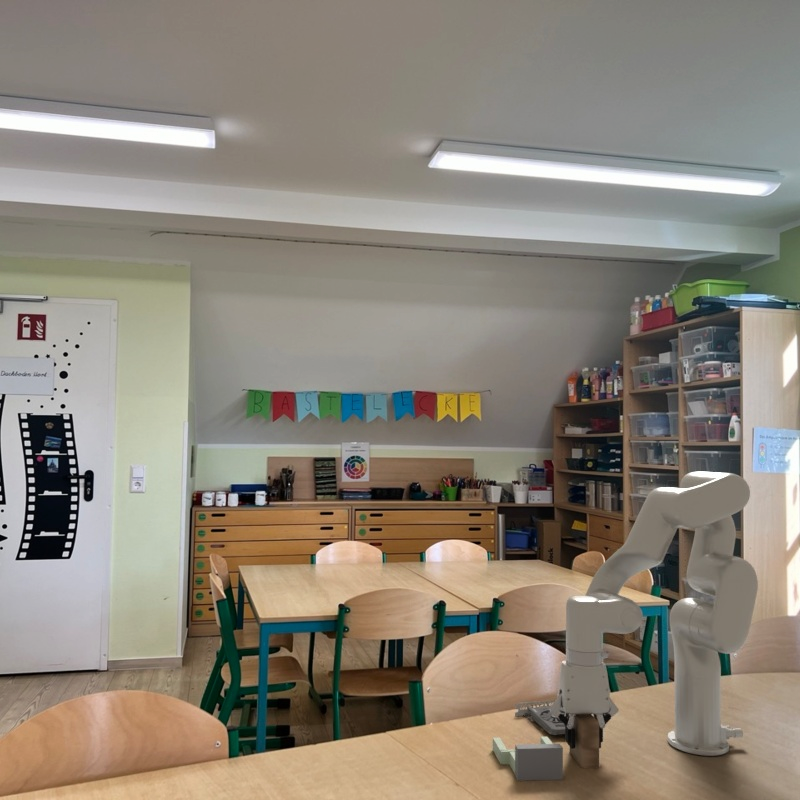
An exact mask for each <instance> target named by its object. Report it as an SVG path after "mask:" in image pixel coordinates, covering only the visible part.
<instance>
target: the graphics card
mask: <svg viewBox="0 0 800 800" xmlns="http://www.w3.org/2000/svg"><path fill="white" fill-rule="evenodd" d="M555 700H556V699H553V700H540V701H539V700H538V701H528V702H518V703H517V704H514V710H517V711H515V712H514V716H515V717H522V716H523V715H524V716H523V717H528V720H530V721H531V722H536V723H537V725H539V726H540V727H541V728H542V729H544V731H546V732H547V734H549V735H550V736H557V735H565V725H564V723H563V722H562V721H561V720H560V719H559V718H557V717H556V716H555V715H553V714H552V713H551V712H550V710H549V709H550V707H551V706H552V704H553V703H554V702H555ZM537 704H538V706H537ZM542 704H543V705H542ZM533 705H534V706H535V707H534V706H533ZM541 705H542V706H541ZM559 711H560V712H561V713H562V714H563V715H565V712H564V710H563V708H562V707H560V709H559Z"/></svg>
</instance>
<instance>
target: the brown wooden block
mask: <svg viewBox="0 0 800 800" xmlns="http://www.w3.org/2000/svg"><path fill="white" fill-rule="evenodd" d="M573 728H574V729H575V748H574V749H571V747H570V746H569V754H571V756H572V757H573V758H574V760H576V762H577V763H578V764H579V766H580V767H581V768H582V769H596V768H598V769H599V768H600V748H599V722H598V721H597V720H596V719H595V718H594V715H593V714H576V716H575V720H574V724H573Z"/></svg>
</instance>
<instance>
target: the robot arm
mask: <svg viewBox="0 0 800 800" xmlns="http://www.w3.org/2000/svg"><path fill="white" fill-rule="evenodd" d="M750 498H751V489H750V486H749V484H748V482H747V481H746V479H744V478H743V477H742V476H740V475H738V474H736V473H732V472H719V471H718V472H717V471H715V472H713V471H692V472H691V471H690V472H689V473H686V474H684V476H683V477H682V478H681V481H680V483H679V487H672V486H671V487H670V486H666V487H665V486H664V487H663V486H662V487H656V488H654V489H652V490H651V491H650V492H649V493H648V494H647V496H646V498H645V500H644V502H643V504H642V506H641V508H640V511H639V513H638V514H637V517H636V519H635V522H634V523H633V525H632V527H631V529H630V532H629V534H628V536H627V539H626V540H625V542H624V544H623V545H622V546H621V547H619V548H618V549H617V550H616V551H615V552H614V553H613V554H612V555H611V556H610V557H608V558H607V560H605V561H604V562H603V563H602V565H600V566H599V568H598V569H597V570H596V572H595V574H594V576H593V578H592V580H591V582H590V584H589V586H588V588H587V590H586V593H585V595H572V596H570V597H569V598H568V599H566V602H565V603H566V604H565V660H562V661H561V664H560V670H559V677H558V684H557V686H558V687H557V697H556V699H554V700H555V701H554V702H553V703H552V706H551V707H550V709H549V710H550V712H551V713H552V714H553V715H555V716H556V717H557V718H559V719H560V720H561V721H562V722H563V723H564V725H565V734H564V739H565V740H564V741H565V743H566V744H567V745H568V746H569V748H570V747H571V749H574V748H575V729H574V728H573V724H574V720H575V716H576V714H591V715H592V716H593V717H594V718H595V719H596V720H597V721H598V722H599V749H601V748H602V743H603V742H604V728H605V727H606V725H607V724H608V722H610V720H611V719H612V718H613V717H614V716H615V715H616V714H617V713H618V712H620V711H619V708H618V706H617V704H615V702H614V701H613V699H612V698H611V696H610V695H611V694H610V683H609V677H608V676H609V675H608V671H607V666H606V664H605V663H604V660H605V659H607V658H609V657H610V652H609V651H608V650H604V649H603V648H604V647H603V646H604V643H603V642H604V641H603V640H604V638H603V637H604V636H603V634H605V633H609V634H611V633H612V634H620V635H627V634H630V633H633V632H636V631H637V630H638V629H639V628H640V627H641V625H642V623H643V618H644V617H643V611H642V609H641V607H640V605H638V603H636V601H634V600H633V599H631V598H628V597H626V596H622V595H620V592H621V590H622V589H623V587H624V585H626V583H627V582H628V581H629V580H630V579H631V578H633V577H635V576H636V575H638V574H640V573H642V572H644V571H647V570H650V569H652V568H655V567H657V566H658V565H660V564H661V563H662V562H663V561H664V559H665V557H666V555H667V552H668V550H669V547H670V545H671V543H672V541H673V539H674V536H675V535H676V533H677V530H678V528H680V529H687V530H695V531H694V537H693V542H692V545H691V550H690V555H689V560H688V564H687V567H686V568H687V569H686V582H687V583H688V585H689V587H690V588H692V589H693V590H694V591H696V592H698V593H701V594H704V595H708V596H709V597H710V596H711V597H714V602H712V601H708V600H705V599H701V598H696V597H684V598H681V599H679V600H678V601H677V602H675V603H674V604H673V606H672V607H671V609H670V612H669V628H670V633H671V637H672V638H671V639H672V643H673V653H674V654H673V656H674V657H673V659H674V671H673V674H674V679H673V680H674V681H673V682H674V729H673V730H671V731H669V732H668V733H667V743H668V744H669V745H670V746H672V747H673V748H675V749H678V750H679V751H681V752H685V753H688V754H693V755H698V756H708V757H709V756H710V757H711V756H712V757H715V756H721V755H724V754H727V753H728V752H729V751H730V744H729V742H728V741H727V740H730V738H733V739H735V738H736V739H740V738H741V739H742V738H743V736H744V733H743V730H742V728H739V727H737V728H732V727H731V726H730V725H723V724H722V696H721V695H722V691H721V688H722V686H721V684H722V677H721V675H722V674H721V673H722V671H721V670H722V669H721V668H722V667H721V659H720V656H719V653H721V654H730V655H731V654H734V653H736V652H738V651H739V650H741V649H742V648H743V646H744V645H745V644H746V641H747V638H748V636H749V633H750V628H751V623H752V618H753V614H754V609H755V604H756V600H757V595H758V590H759V589H758V588H759V587H758V586H759V581H758V575H757V573H756V570H755V568H754V566H753V565H752V564H751V563H750V562H749V561H747V560H746V559H744V558H742V557H739V556H736V555H735V556H734V550H735V544H736V538H737V536H736V535H737V532H736V531H737V529H736V525H735V521H734V519H733V516H732V515H734V514H737V513H738V512H739V513H740V511H741V510H743V509H744V508H745V507H746V505H747V504H748V502H749V500H750ZM560 707H562V708H563V710H564V712H565V715H563V714H562V713H561V712H560V711H559V709H560Z"/></svg>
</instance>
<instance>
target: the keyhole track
mask: <svg viewBox="0 0 800 800" xmlns="http://www.w3.org/2000/svg"><path fill="white" fill-rule="evenodd" d="M514 747H515V748H514V749H507V747H506V746H505V743H504V742H503V741H502V739H501V737H499V736H498V737H492V751H493V753H494V754H495V757H496V759H497V760H498V762H499V763H500V765H509V766H510V768H511V771H513V773H514V777H515V779H516V781H520V782H521V781H551V780H552V781H553V780H555V781H557V780H560V781H561V780H564V776H563V775H564V773H563V772H564V766H563V765H564V751H563V750H564V748H563V746H562V745H561V743H553V742H552V740H551V739H550V738H549V737H548V736H540V743H538V744H537V743H535V744H531V743H530V744H515V746H514Z"/></svg>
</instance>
